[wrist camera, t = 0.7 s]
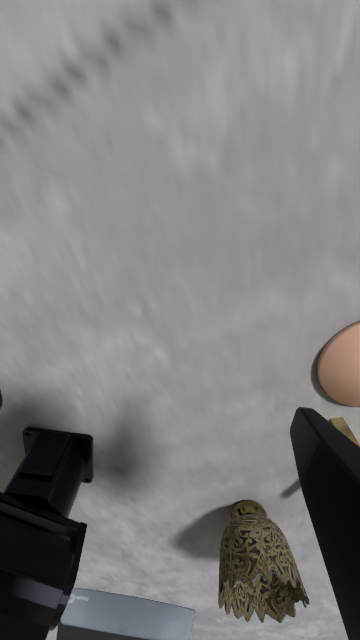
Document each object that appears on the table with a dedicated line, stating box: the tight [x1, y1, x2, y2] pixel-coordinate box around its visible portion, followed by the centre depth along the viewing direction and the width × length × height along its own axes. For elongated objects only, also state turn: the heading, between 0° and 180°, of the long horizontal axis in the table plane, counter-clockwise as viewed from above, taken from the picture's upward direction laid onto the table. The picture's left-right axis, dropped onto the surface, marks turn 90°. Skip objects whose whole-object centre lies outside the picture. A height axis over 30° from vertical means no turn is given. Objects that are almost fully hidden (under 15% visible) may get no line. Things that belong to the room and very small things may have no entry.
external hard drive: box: [57, 588, 195, 640], centre depth 43 cm, size 13×19×4 cm
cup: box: [218, 501, 309, 623], centre depth 28 cm, size 8×7×8 cm
